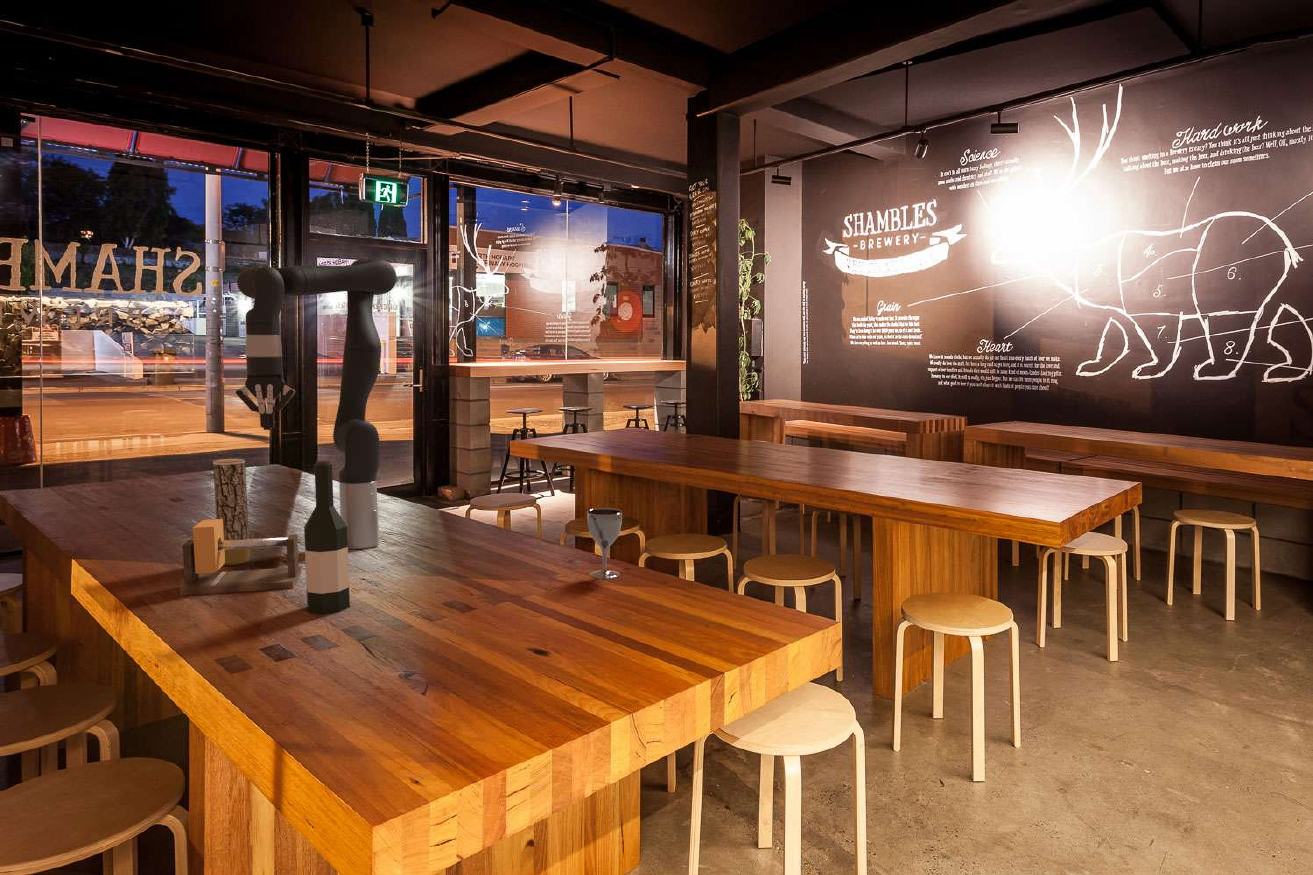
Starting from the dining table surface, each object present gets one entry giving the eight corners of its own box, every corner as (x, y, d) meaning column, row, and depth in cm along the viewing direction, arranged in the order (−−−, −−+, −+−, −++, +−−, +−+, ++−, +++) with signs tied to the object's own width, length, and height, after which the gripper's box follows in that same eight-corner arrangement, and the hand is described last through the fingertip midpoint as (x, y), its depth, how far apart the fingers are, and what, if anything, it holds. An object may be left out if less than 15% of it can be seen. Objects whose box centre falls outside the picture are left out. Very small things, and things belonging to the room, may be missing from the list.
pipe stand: (301, 573, 191) (299, 530, 189) (293, 588, 179) (291, 542, 178) (195, 579, 185) (193, 535, 184) (180, 595, 173) (177, 548, 172)
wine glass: (626, 571, 194) (626, 509, 192) (614, 580, 186) (614, 515, 185) (595, 568, 196) (595, 506, 195) (582, 577, 189) (581, 513, 187)
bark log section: (236, 567, 196) (231, 463, 193) (212, 565, 197) (206, 462, 194) (256, 559, 202) (251, 459, 199) (232, 558, 204) (226, 458, 201)
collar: (225, 562, 184) (222, 519, 183) (216, 572, 177) (213, 526, 175) (205, 563, 183) (202, 519, 182) (195, 573, 175) (192, 527, 174)
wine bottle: (314, 601, 170) (308, 457, 167) (355, 600, 171) (350, 457, 167) (300, 614, 162) (293, 463, 158) (343, 613, 162) (338, 463, 159)
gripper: (297, 354, 195) (300, 427, 197) (236, 354, 192) (240, 428, 194) (292, 355, 188) (295, 430, 190) (228, 355, 184) (232, 431, 186)
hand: (267, 429), depth 192 cm, fingers closed
